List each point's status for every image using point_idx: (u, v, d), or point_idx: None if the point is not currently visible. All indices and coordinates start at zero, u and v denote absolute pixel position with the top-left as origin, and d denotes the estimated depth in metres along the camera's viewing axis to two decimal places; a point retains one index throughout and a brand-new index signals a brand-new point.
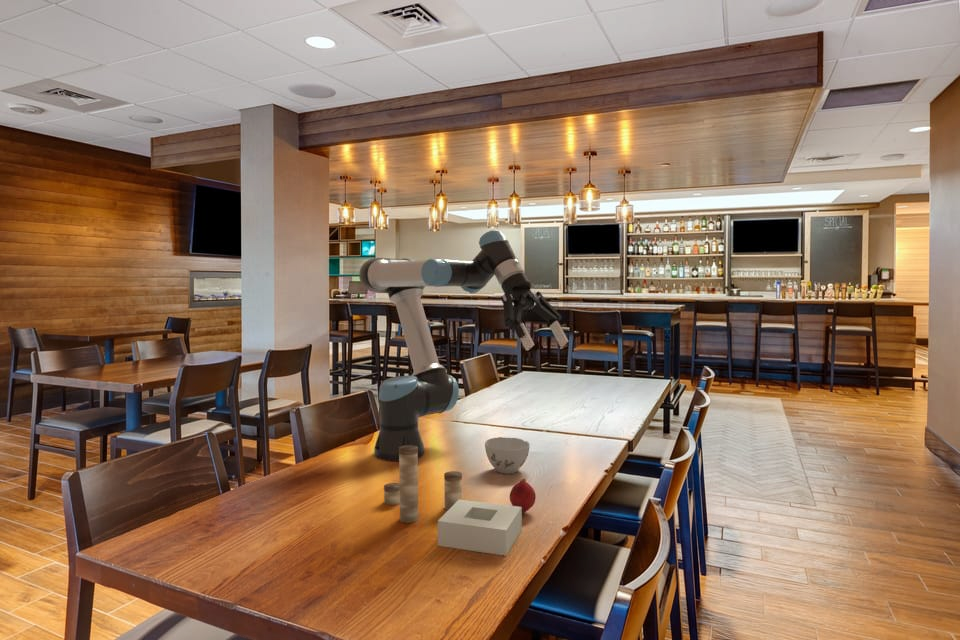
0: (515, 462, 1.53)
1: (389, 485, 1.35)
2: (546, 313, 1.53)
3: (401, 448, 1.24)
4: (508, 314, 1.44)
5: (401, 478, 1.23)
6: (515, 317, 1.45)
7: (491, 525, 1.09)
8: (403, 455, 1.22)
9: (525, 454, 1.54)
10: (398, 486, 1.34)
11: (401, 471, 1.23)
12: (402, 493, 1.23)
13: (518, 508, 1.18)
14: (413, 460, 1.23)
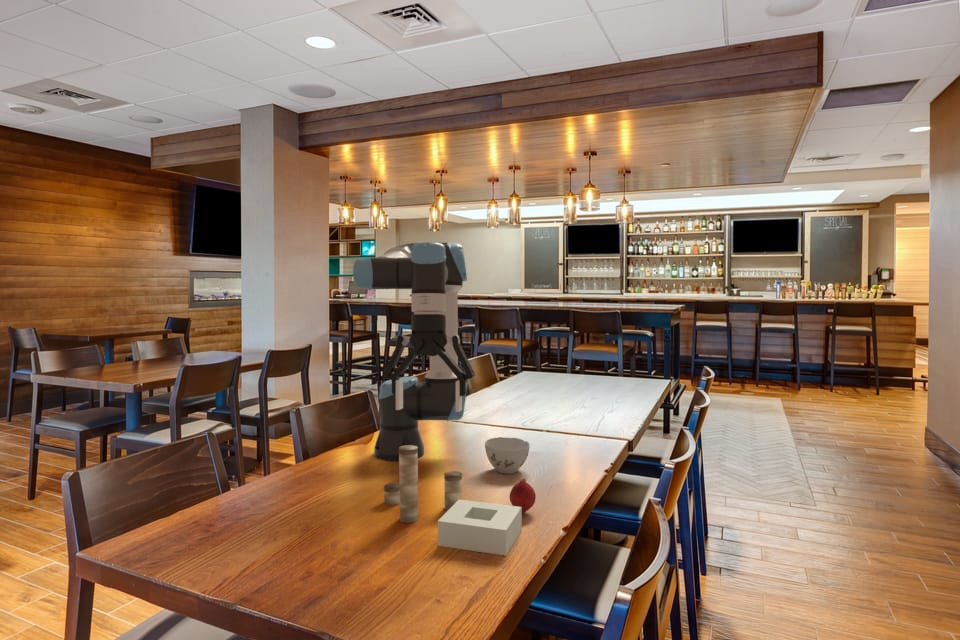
0: (515, 462, 1.53)
1: (389, 485, 1.35)
2: None
3: (401, 448, 1.24)
4: None
5: (401, 478, 1.23)
6: None
7: (491, 525, 1.09)
8: (403, 455, 1.22)
9: (525, 454, 1.54)
10: (398, 486, 1.34)
11: (401, 471, 1.23)
12: (402, 493, 1.23)
13: (518, 508, 1.18)
14: (413, 460, 1.23)
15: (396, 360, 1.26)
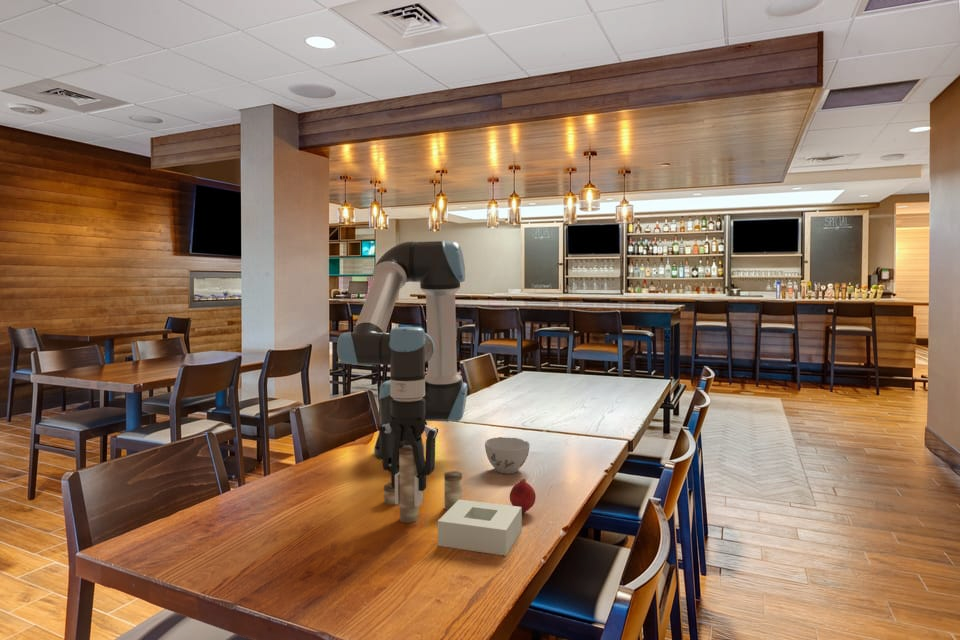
0: (515, 462, 1.53)
1: (389, 485, 1.35)
2: None
3: (401, 448, 1.24)
4: None
5: (401, 478, 1.23)
6: None
7: (491, 525, 1.09)
8: (403, 455, 1.22)
9: (525, 454, 1.54)
10: None
11: (401, 471, 1.23)
12: (402, 493, 1.23)
13: (518, 508, 1.18)
14: (413, 460, 1.23)
15: (388, 450, 1.25)
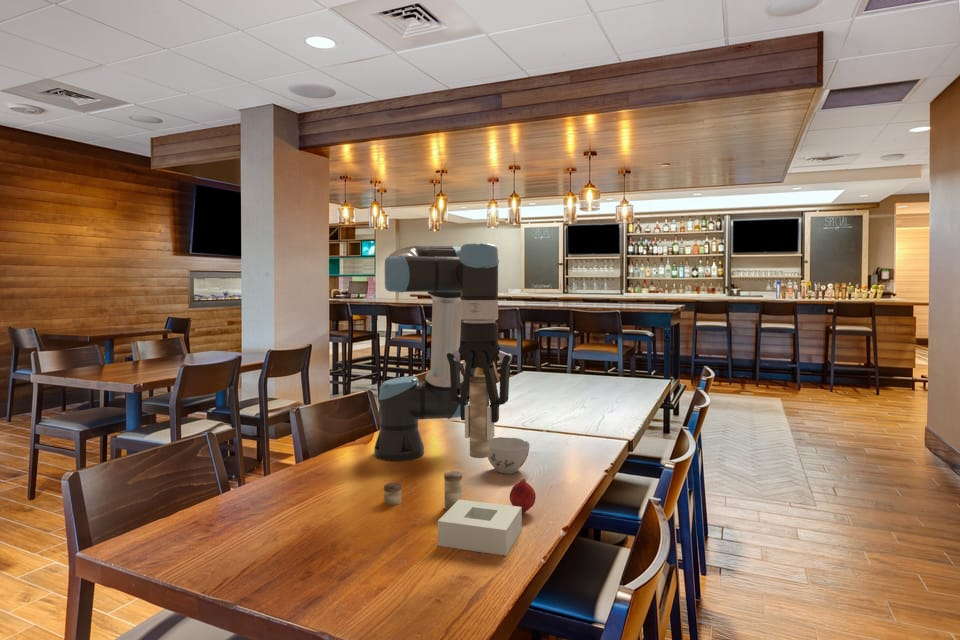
0: (515, 462, 1.53)
1: (389, 485, 1.35)
2: None
3: (472, 377, 1.13)
4: None
5: (472, 409, 1.13)
6: None
7: (491, 525, 1.09)
8: (474, 384, 1.12)
9: (525, 454, 1.54)
10: (398, 486, 1.34)
11: (472, 401, 1.12)
12: (473, 426, 1.13)
13: (518, 508, 1.18)
14: (485, 389, 1.12)
15: (457, 379, 1.15)
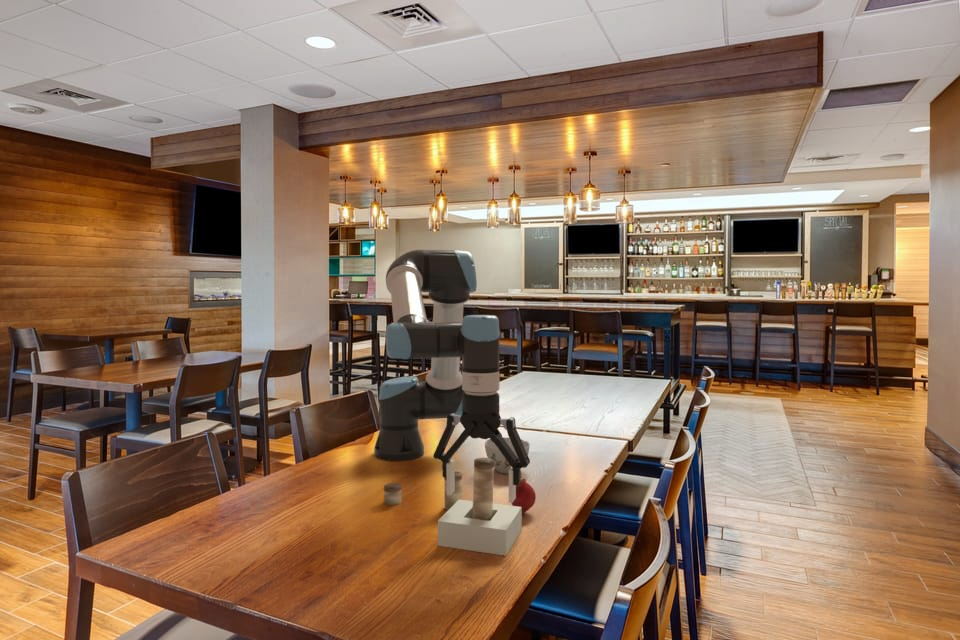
0: None
1: (389, 485, 1.35)
2: None
3: (477, 461, 1.14)
4: None
5: (476, 494, 1.13)
6: (447, 451, 1.16)
7: (491, 525, 1.09)
8: (479, 470, 1.13)
9: None
10: (398, 486, 1.34)
11: (477, 486, 1.13)
12: (477, 510, 1.13)
13: (518, 508, 1.18)
14: (490, 474, 1.13)
15: (446, 441, 1.16)
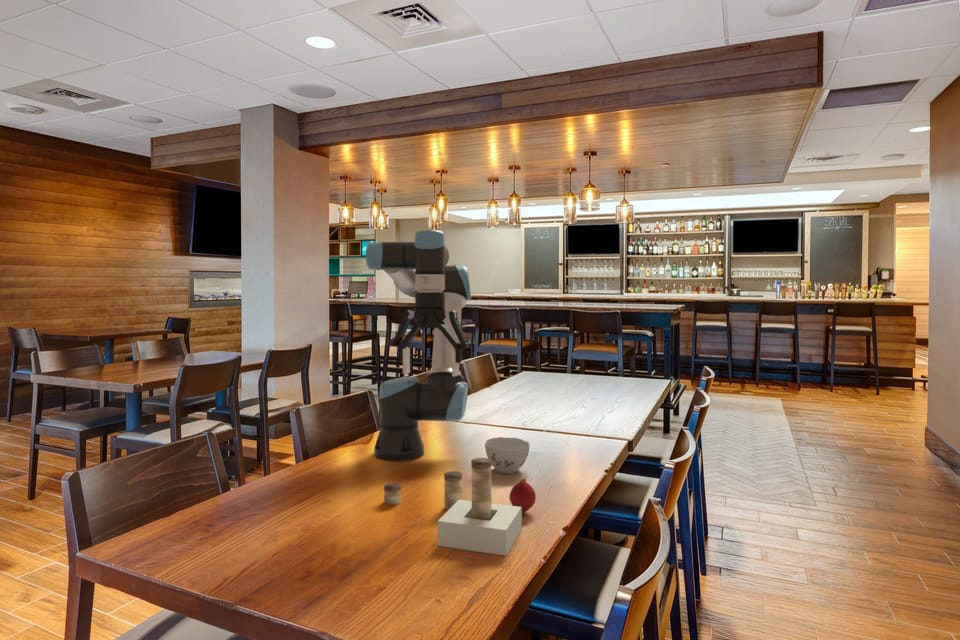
0: (515, 462, 1.53)
1: (389, 485, 1.35)
2: None
3: (474, 461, 1.14)
4: None
5: (474, 494, 1.14)
6: None
7: (491, 525, 1.09)
8: (477, 469, 1.13)
9: (525, 454, 1.54)
10: (398, 486, 1.34)
11: (475, 486, 1.13)
12: (476, 510, 1.14)
13: (518, 508, 1.18)
14: (487, 474, 1.13)
15: (403, 331, 1.47)
